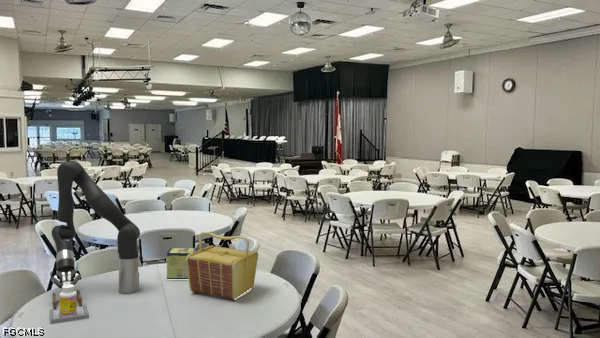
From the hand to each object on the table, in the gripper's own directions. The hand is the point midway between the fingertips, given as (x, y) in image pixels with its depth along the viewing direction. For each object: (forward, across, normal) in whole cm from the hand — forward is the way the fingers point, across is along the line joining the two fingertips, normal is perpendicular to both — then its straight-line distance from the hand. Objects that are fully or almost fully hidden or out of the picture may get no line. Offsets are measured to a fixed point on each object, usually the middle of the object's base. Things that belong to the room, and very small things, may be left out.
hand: (67, 294), depth 209 cm
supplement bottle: (+12, 0, -5) cm, 13 cm away
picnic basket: (+13, +70, -6) cm, 71 cm away
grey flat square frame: (+12, 0, -6) cm, 14 cm away
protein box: (-9, +58, +16) cm, 61 cm away
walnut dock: (+2, 0, +5) cm, 6 cm away
